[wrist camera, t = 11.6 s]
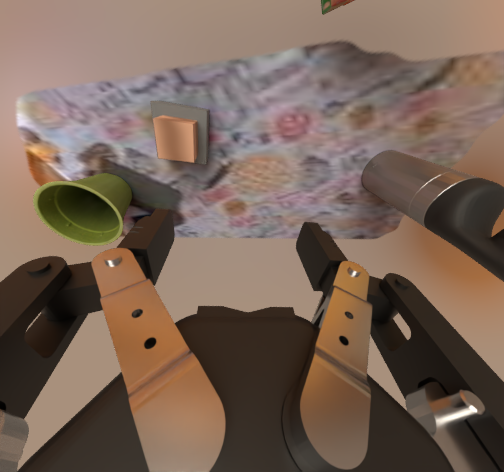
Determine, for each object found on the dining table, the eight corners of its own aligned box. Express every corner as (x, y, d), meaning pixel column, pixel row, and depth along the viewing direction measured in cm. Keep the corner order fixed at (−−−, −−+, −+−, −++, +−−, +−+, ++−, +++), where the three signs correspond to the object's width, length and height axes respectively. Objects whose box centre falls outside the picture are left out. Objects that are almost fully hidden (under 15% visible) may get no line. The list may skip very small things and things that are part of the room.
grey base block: (209, 109, 33) (206, 111, 29) (208, 157, 37) (206, 164, 33) (160, 100, 31) (150, 101, 27) (165, 151, 36) (157, 158, 32)
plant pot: (132, 223, 44) (108, 255, 35) (73, 194, 39) (26, 223, 30) (155, 185, 39) (133, 211, 30) (90, 146, 34) (41, 164, 25)
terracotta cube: (197, 120, 29) (192, 124, 25) (198, 154, 32) (193, 162, 28) (163, 115, 28) (153, 118, 24) (167, 150, 31) (158, 158, 27)
